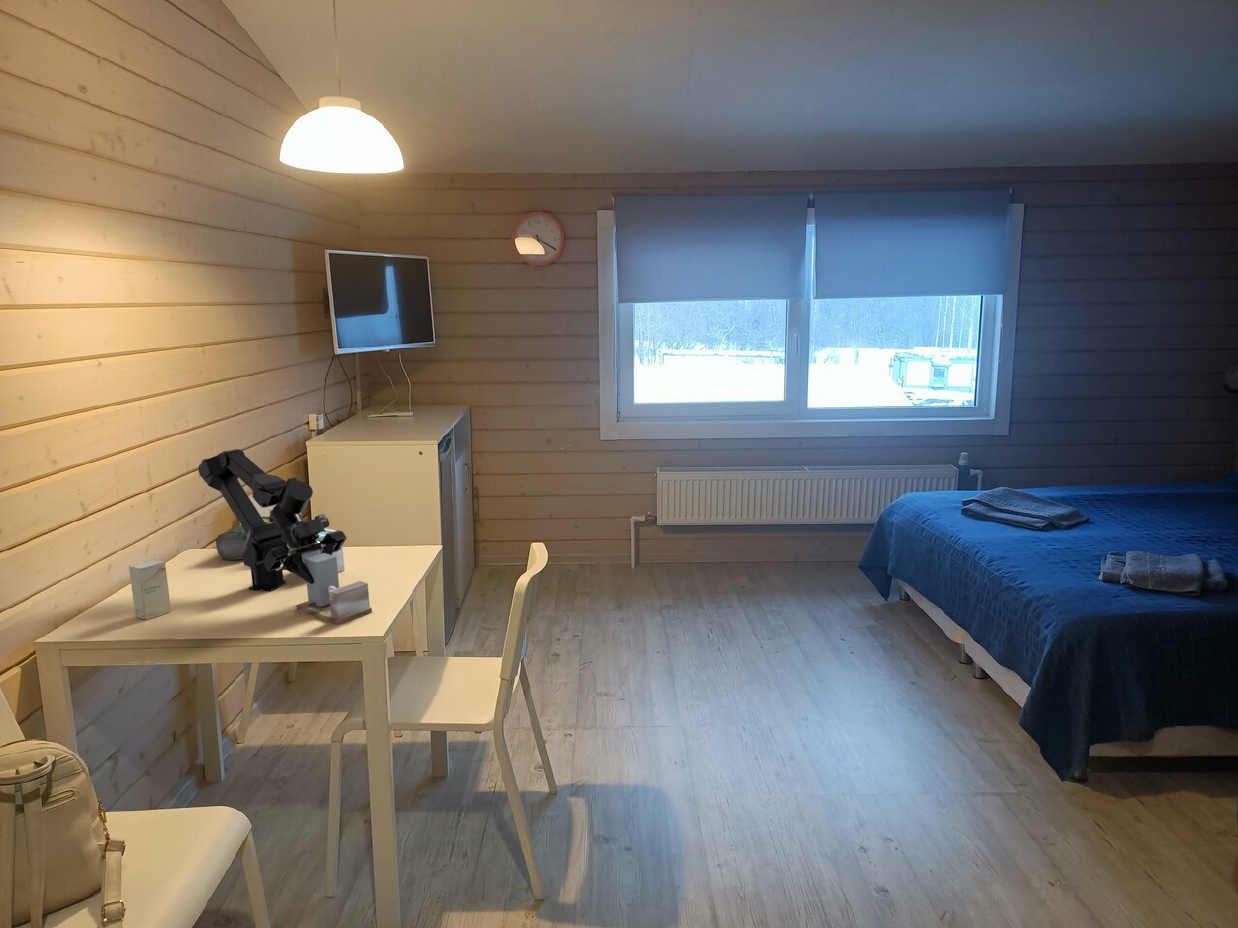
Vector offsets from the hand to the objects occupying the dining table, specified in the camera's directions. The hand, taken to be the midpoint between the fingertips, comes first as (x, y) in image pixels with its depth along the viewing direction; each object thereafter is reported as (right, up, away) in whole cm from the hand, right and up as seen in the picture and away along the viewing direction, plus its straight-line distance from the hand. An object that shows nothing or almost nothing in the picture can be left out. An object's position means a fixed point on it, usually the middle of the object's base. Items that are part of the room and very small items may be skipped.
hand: (323, 579), depth 197 cm
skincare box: (-39, -8, 0) cm, 39 cm away
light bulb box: (-10, -2, +28) cm, 29 cm away
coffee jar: (-37, +4, +36) cm, 52 cm away
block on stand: (+3, -7, -1) cm, 7 cm away
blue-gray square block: (0, -5, 0) cm, 5 cm away
